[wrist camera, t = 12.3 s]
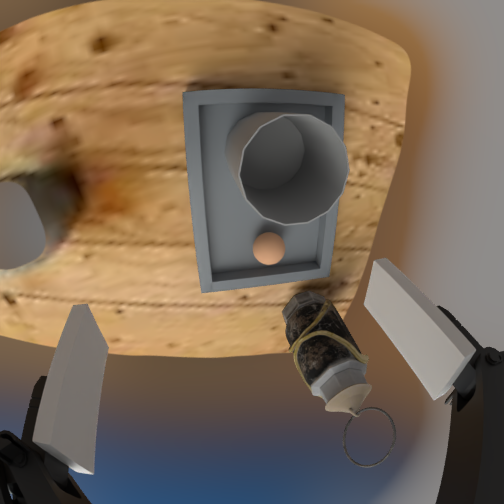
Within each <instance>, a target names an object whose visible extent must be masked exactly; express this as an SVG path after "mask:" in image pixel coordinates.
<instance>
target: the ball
mask: <svg viewBox="0 0 504 504" xmlns="http://www.w3.org/2000/svg"><path fill="white" fill-rule="evenodd" d="M253 253H254V256H255V258H256V259H257V260H258V261H259V262H261V263H263V264H266V265H272V264H275V263H277V262H279V261H280V260H281V259H282V258H283V256H284V253H285V244H284V241H283V239H282V238H281V237H280V236H279V235H277V234H275V233H272V232H266V233H263V234H261V235H259V236H258V237H257V238H256V239H255V241H254V244H253Z"/></svg>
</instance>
